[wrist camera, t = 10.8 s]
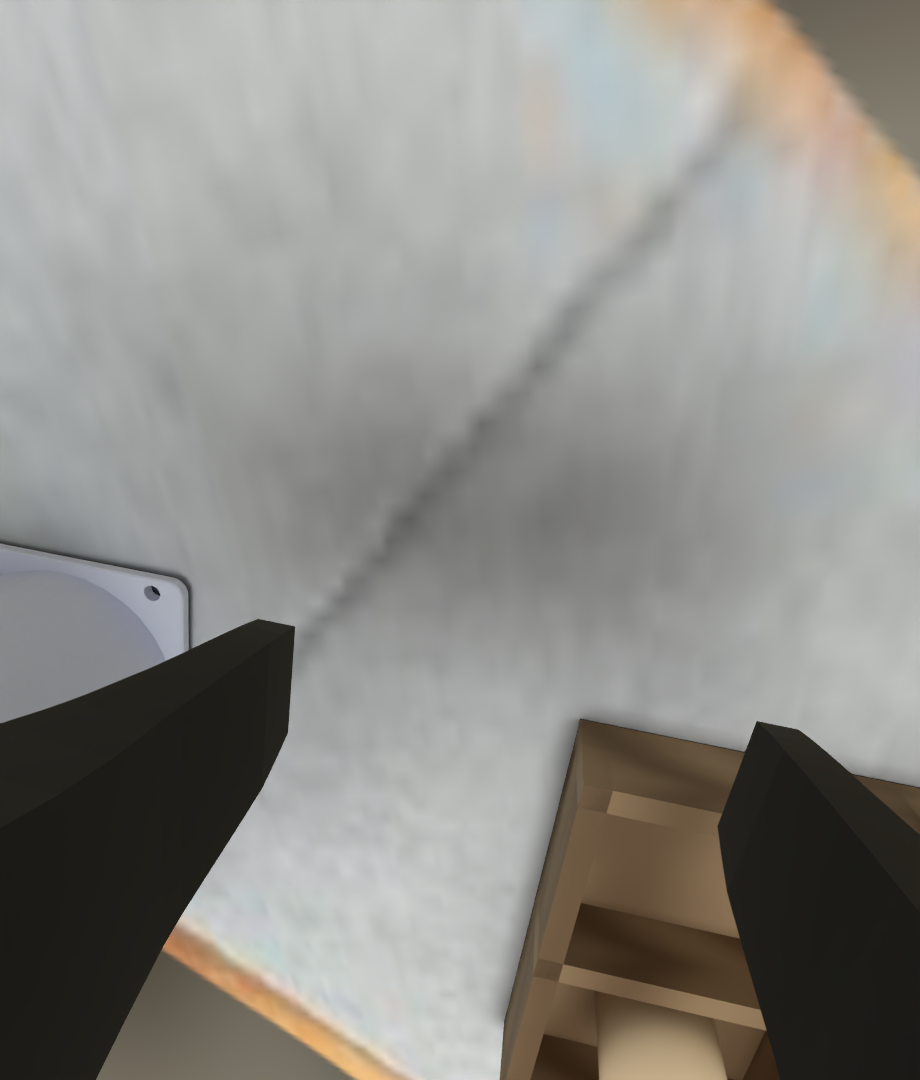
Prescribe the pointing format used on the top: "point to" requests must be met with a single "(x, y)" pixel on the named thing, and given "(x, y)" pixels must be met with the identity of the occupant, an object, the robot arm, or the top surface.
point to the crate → (640, 905)
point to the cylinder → (654, 1042)
